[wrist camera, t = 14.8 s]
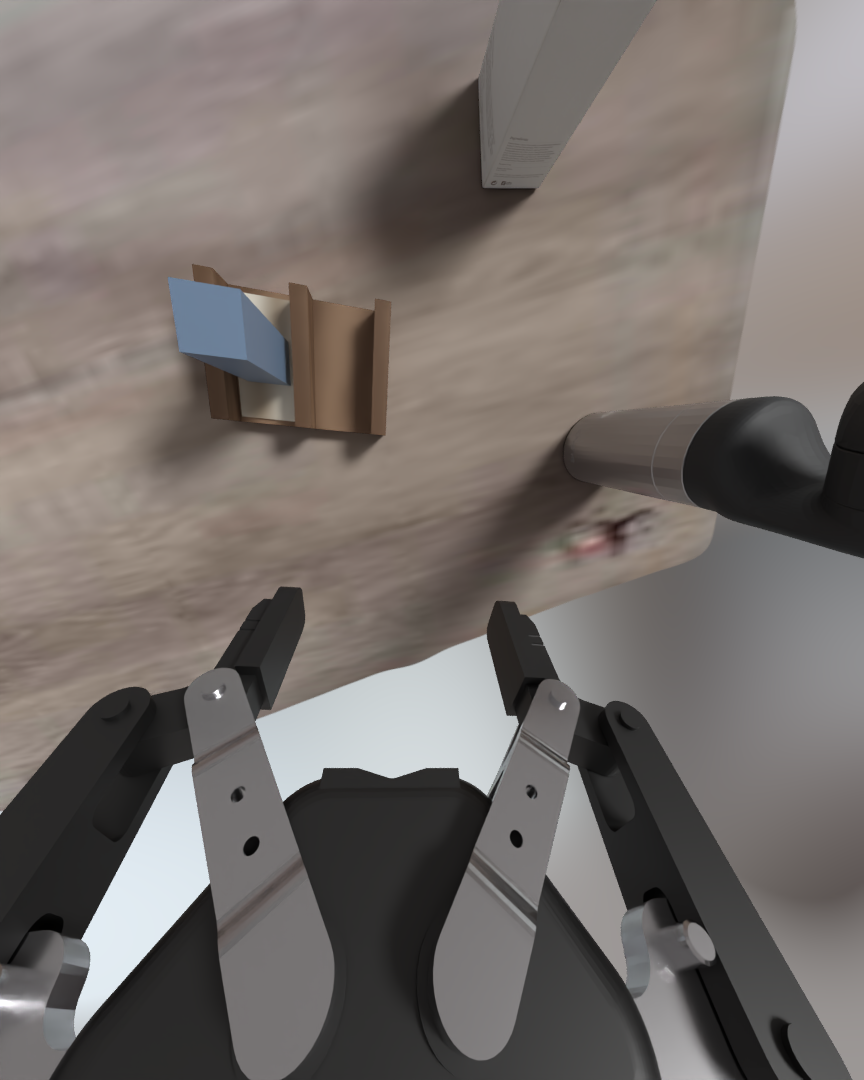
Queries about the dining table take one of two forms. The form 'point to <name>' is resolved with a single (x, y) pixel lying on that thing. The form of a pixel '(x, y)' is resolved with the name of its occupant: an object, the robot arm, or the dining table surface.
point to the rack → (312, 365)
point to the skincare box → (545, 79)
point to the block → (228, 332)
